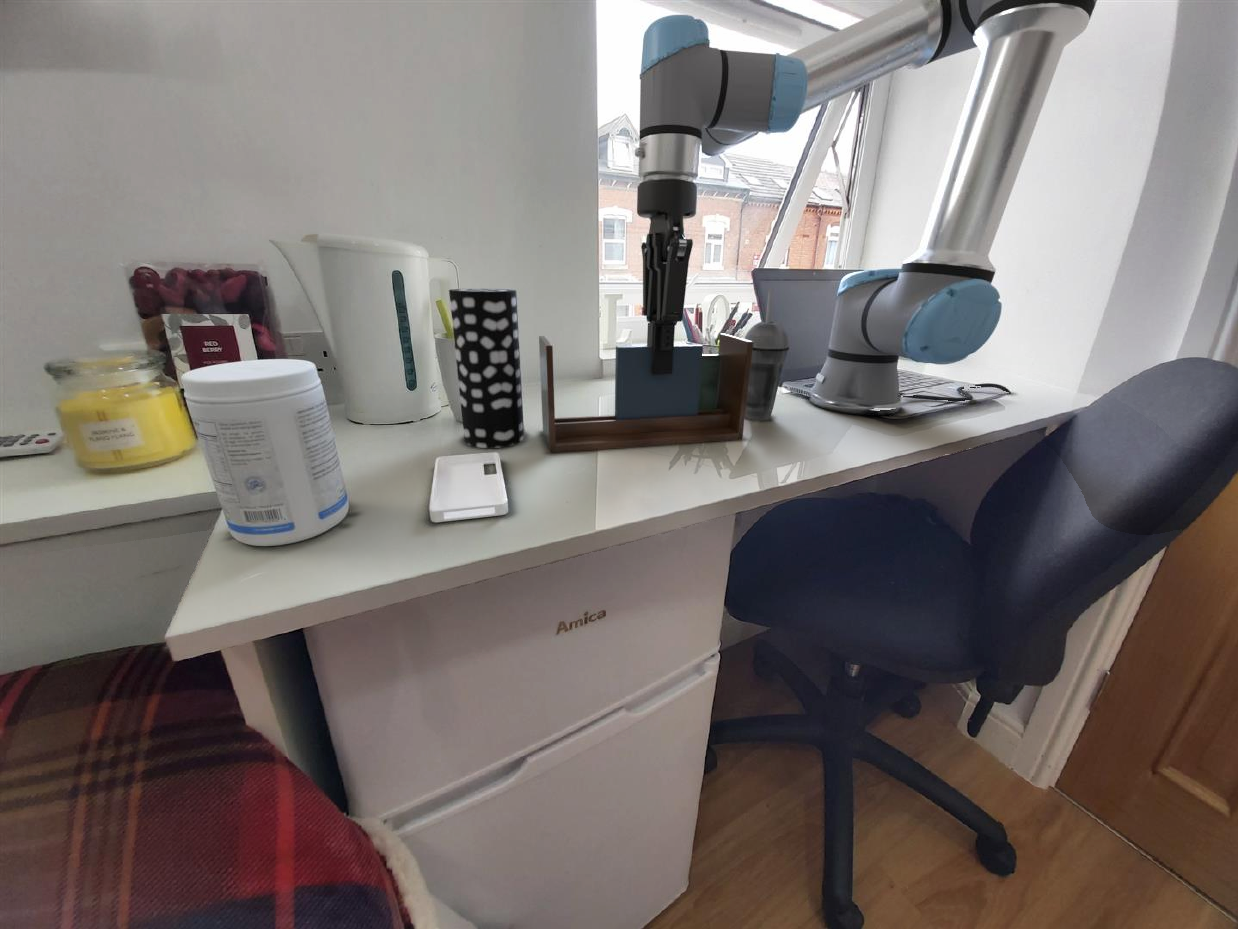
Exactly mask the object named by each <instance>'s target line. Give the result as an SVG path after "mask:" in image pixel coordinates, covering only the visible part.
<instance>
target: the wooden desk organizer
mask: <svg viewBox="0 0 1238 929" xmlns="http://www.w3.org/2000/svg"><path fill="white" fill-rule="evenodd" d="M538 345H539V346H538V348H539V370H540V371H539V372H540V373H539V374H540V397H541V417H542V418H541V419H542V422H541V423H542V434H543V436H544V440H545V443H546V445H547V448H548V451H549V453H550V454H554V453H555V454H556V453H569V452H582V451H583V452H585V451H596V450H598V451H599V450H612V449H626V448H638V447H639V448H640V447H654V446H655V447H656V446H670V445H681V444H698V443H713V442H724V441H725V442H726V441H740V440H743V436H744V429H745V428H744V427H745V419H746V418H745V411H746V402H747V394H748V385H749V376H750V367H751V359H752V350H753V341H749V340H746V339H745V338H742V337H738V336H734V335H731V334H728V333H720V334H719V341H718V352H717V353H716V354H715V353H711V354H708V353H707V354H702V367H701V380H700V392H699V405H698V415H693V416H675V417H657V418H639V419H621V420H615V414H607V415H589V416H571V417H556V408H555V380H554V379H555V377H554V350H553V349H554V348H553V344H552V343H551V342H550V341H549V340H548V338H546V336H545V335H538Z"/></svg>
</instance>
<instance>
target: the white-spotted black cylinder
mask: <svg viewBox="0 0 1238 929" xmlns="http://www.w3.org/2000/svg"><path fill="white" fill-rule="evenodd" d="M448 293H449V303H450V304H449V305H450V313H451V323H452V333H453V339H454V340H453V343H454V344H453V345H454V351H455V362H456V372H457V381H458V382H457V383H458V392H459V400H460V408H461V409H460V410H461V420H462V430H463V439H464V443H465V444H467V445H468V446H471V447H474V448H480V449H481V448H482V449H498V448H505V447H506V448H507V447H510V446H514V445H517V444H519V443H521V442H522V441H524V439H525V426H524V406H523V391H522V390H523V389H522V388H523V387H522V370H521V352H520V336H519V334H520V333H519V332H520V331H519V315H518V314H519V313H518V298H517V290H516V289H508V288H507V289H505V288H454V289H448Z"/></svg>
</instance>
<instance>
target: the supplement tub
mask: <svg viewBox="0 0 1238 929" xmlns="http://www.w3.org/2000/svg"><path fill="white" fill-rule="evenodd" d="M180 380H181V384H182V386H183V387H182V388H183V390H184V392H183V396H184V398H185V402H186V405H187V408H188V412H189V416H190V418H191V421H192V424H193V427H194V430H195V433H196V437H197V439H198V442H199V445H200V448H201V451H202V454H203V457H204V460H205V463H206V466H207V469H208V472H209V475H210V478H211V481H212V484H213V487H214V489H215V494H216V496H217V498H218V501H219V505H220V507H221V510H222V514H223V516H224V519H225V522H226V524H227V527H228V530H229V533H230V535H231V536H232V537H233V539H235V540H236V541H238V542H239V543H243V544H245V545H249V546H256V547H274V546H283V545H289V544H293V543H299V542H303V541H306V540H309V539H311V538H312V539H313V538H314V537H316V536H319V535H321V534H324V533H325V532H327V531H329V530H330V529H332V528H333V527H335V526H337V525H338V524H340V522H342V520H344V519H345V517H346V516H347V514H348V513H349V509H350V502H349V498H348V492H347V488H346V483H345V480H344V474H343V471H342V470H343V469H342V467H341V462H340V458H339V453H338V448H337V444H336V439H335V435H334V431H333V425H332V423H331V422H332V420H331V418H330V413H329V409H328V404H327V398H326V395H325V391H324V387H323V384H322V383H321V382H322V380H321V378H320V376H319V373H318V369H317V366H316V364H315V363H313V362H312V361H309V360H304V359H294V358H293V359H291V358H272V359H271V358H268V359H253V360H251V359H250V360H240V361H233V362H227V363H226V362H225V363H218V364H214V365H213V364H212V365H207V366H203V367H199V368H195V369H192V370H188V371H186V372H185V373H183V374H181V376H180Z"/></svg>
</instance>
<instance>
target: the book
mask: <svg viewBox="0 0 1238 929" xmlns="http://www.w3.org/2000/svg"><path fill="white" fill-rule="evenodd" d="M648 323H649V326H648V325H647V334H648V345H649V346H647V345H616V346H615V367H614V368H615V369H614V372H615V373H614V415H615V420H621V419H639V418H657V417H675V416H693V415H698V405H699V392H700V380H701V367H702V355H704V354H703V353H704V352H703V351H704V345H702V344H674V350H673V367H672V374H652V360H653V337H654V326H653V325H652V323H650V322H648Z"/></svg>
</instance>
